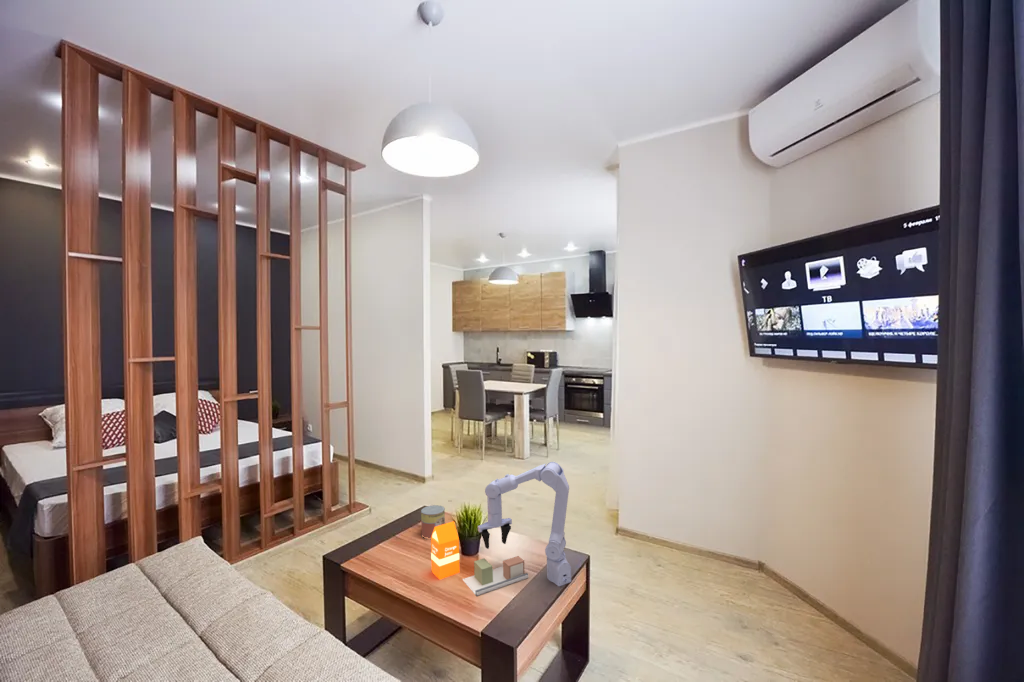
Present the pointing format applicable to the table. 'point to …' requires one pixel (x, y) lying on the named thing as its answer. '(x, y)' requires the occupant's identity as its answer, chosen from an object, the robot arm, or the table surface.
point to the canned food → (432, 519)
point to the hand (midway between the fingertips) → (495, 545)
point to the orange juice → (445, 551)
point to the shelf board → (496, 584)
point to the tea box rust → (513, 567)
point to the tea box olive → (483, 571)
